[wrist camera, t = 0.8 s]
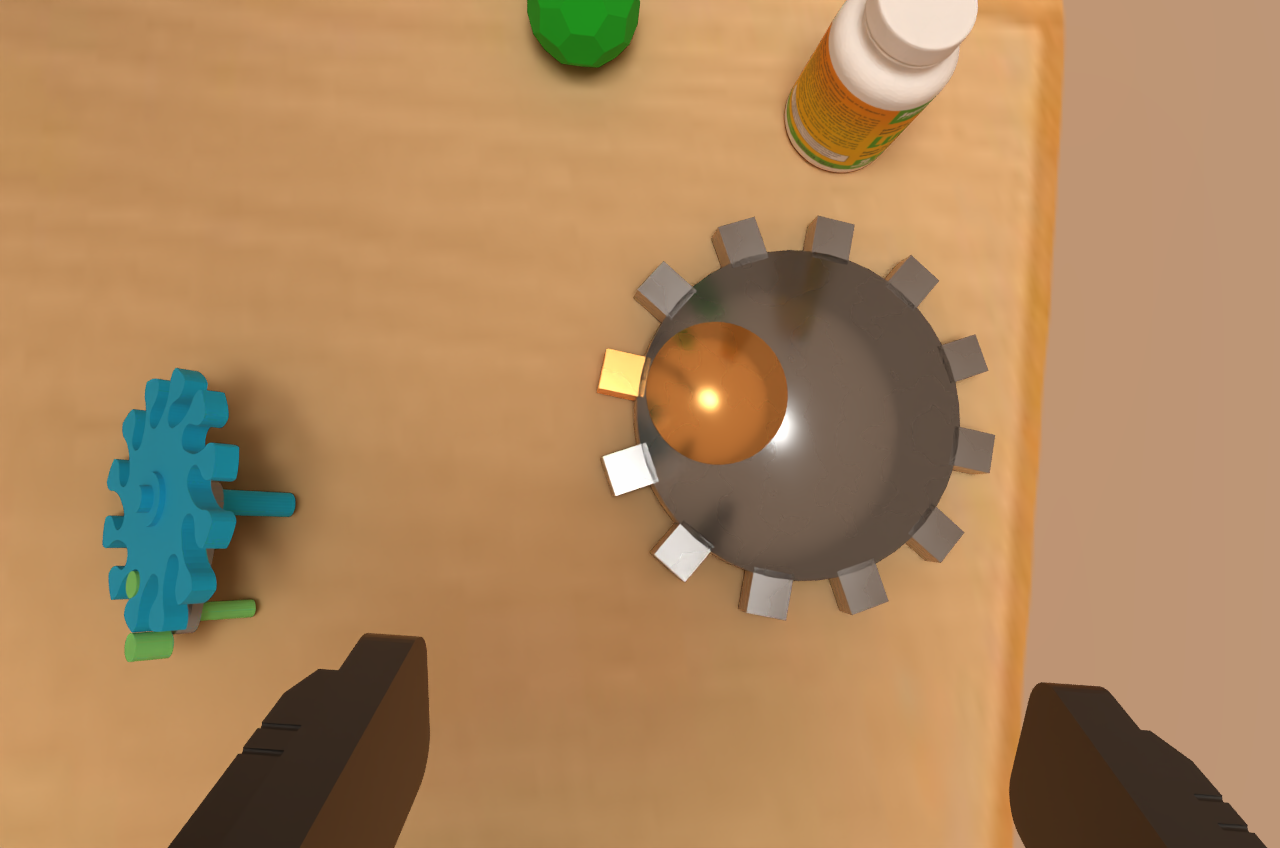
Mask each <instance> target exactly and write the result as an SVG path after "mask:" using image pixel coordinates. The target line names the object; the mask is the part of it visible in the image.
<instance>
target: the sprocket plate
mask: <svg viewBox="0 0 1280 848" xmlns="http://www.w3.org/2000/svg"><path fill="white" fill-rule="evenodd" d="M853 231H854V224H850V223H846V222H842V221H837V220H833V219H829V218H825V217H821V216H817V217H816V218H815V219H814V220H813V221H812V222H811V224H810V225H809V226H808V227H807V232H806V237H805V243H804V248H803V251H793V250H787V251H776V252H767V251H766V248H765V246H764V243H763V240H762V237H761V234H760V231H759V228H758V226H757V223H756V220H755V217H752V218H749V219H745V220H742V221H738V222H735V223H731V224H728V225H725V226H721V227H718V228H717V230H716V232H715V233H714V235H713V236H712V238H711V239H712V242H713V244H714V247H715V250H716V253H717V256H718V259H719V262H720V265H721V269H719V270H717V271H715V272H713V273H711V274H710V275H708V276H707V277H706V278H704V279H703V280H702V281H700V282H699V283H697V284H696V285H695V286H693V287H692V286H691V285H690V284H688V283H687V282H686V281H685V280H684V279H683V278H682V277H681V276H680V275H679V274H677V273H676V272H675V271H674V270H673V269H672V268H671V267H670V266H669V265H667V264H666V263H665V262H664V261H663V262H662V263H661V264H660V266H659V267H658V268H657V269H656V270H655V271H654V272H653V273H652V274H651V275H650V276H649V277H648V279H647V280H646V281H645V282H644V283H643V284H642V285H641V286H640V287H639V288H638V289H637V292H636V294H635V296H634V299H635V300H636V301H637V302H638V303H640V304H641V305H642V306H643V307H644V308H645V309H646V310H647V311H648V312H650V313H651V314H652V315H653V316H654V317H655V318H656V319H657V320H658V321H660V322H661V323H662V324H661V325H660V327H659V329H658V330H657V332H656V334H655V335H654V337H653V339H652V340H651V342H650V344H649V347H648V349H647V351H646V354H645V356H644V357H643V356H639V355H634V354H630V353H625V352H621V351H616V350H612V349H607V350H606V352H605V355H604V360H603V365H602V369H601V374H600V379H599V384H598V388H597V393H600V394H605V395H610V396H614V397H619V398H623V399H628V400H633V401H634V430H635V438H636V445H637V446H633V447H630V448H627V449H624V450H621V451H618V452H615V453H612V454H609V455H606V456H603V457H602V458H601V462H602V465H603V468H604V471H605V474H606V477H607V480H608V483H609V486H610V489H611V493H612V496H617V495H620V494H623V493H626V492H629V491H632V490H635V489H638V488H641V487H644V486H647V485H650V487H651V488H652V490H653V492H654V494H655V495H656V497H657V499H658V501H659V503H660V504H661V506H662V507H663V508H664V510H665V511H666V512H667V514H668V515H669V516H670V518H671V519H672V520H673V522H674V525H673V526H672V527H671V528H670V529H669V530H668V532H667V533H666V534H665V535H664V536H663V537H662V539H661V540H660V541H659V542H658V543H657V544H656V546H655V547H654V548H653V549H652V550H651V551H650V553H651V554H652V555H653V556H654V557H655V558H656V559H657V560H658V561H660V562H661V563H662V564H663V565H664V566H665V567H666V568H667V569H669V570H670V571H671V572H672V573H673V574H674V575H675V576H676V577H678V578H679V579H680V580H682V581H684V582H685V581H686V580H687V579H688V578H689V577H690V575H691V574H692V573H693V572H694V571H695V570H696V568H697V567H698V566H699V565H700V564H701V562H702V561H703V560H704V559H705V558H706V557H707V555H708V554H709V553H711V554H713V555H714V556H716V557H718V558H719V559H721V560H723V561H725V562H727V563H729V564H732V565H734V566H737V567H739V568H741V569H744V570H745V573H744V579H743V584H742V590H741V595H740V601H739V607H738V609H740V610H742V611H744V612H746V613H750V614H756V615H761V616H766V617H771V618H776V619H781V620H786V617H787V611H788V606H789V600H790V594H791V588H792V582H793V580H794V581H807V580H822V579H829V581H830V584H831V587H832V590H833V593H834V595H835V598H836V601H837V604H838V607H839V610H840V611H842V612H845V613H848V614H851V615H853V614H856V613H859V612H861V611H864V610H867V609H869V608H872V607H875V606H877V605H880V604H883V603H885V602H888V598H887V595H886V592H885V590H884V587H883V584H882V581H881V578H880V575H879V572H878V569H877V567H876V564H875V563H877V562H879V561H881V560H882V559H884V558H885V557H887V556H889V555H890V554H892V553H893V552H895V551H896V550H897V549H898V548H900V547H901V546H902V545H903V544H904V543H906V544H907V545H908V546H910V547H911V548H912V549H913V550H914V551H915V552H916V553H917V554H918V555H919V556H921V557H922V558H923V559H924V560H925V561H932V562H939V563H941V562H942V561H943V559H944V558H945V557H946V555H947V554H948V553H949V552H950V550H951V549H952V548H953V546H954V545H955V544H956V543H957V541H958V540H959V539H960V538H961V536H962V535H963V534H964V532H963V531H962V530H961V529H960V528H959V527H958V526H957V525H956V524H954V523H953V522H952V521H951V520H950V519H949V518H948V517H947V516H946V515H944V514H943V513H942V512H941V511H940V510H939V509H938V508H937V507H936V506H937V504H938V502H939V500H940V498H941V496H942V494H943V493H944V491H945V489H946V487H947V484H948V481H949V478H950V475H951V473H952V470H954V471H959V472H963V473H968V474H985V473H990V467H991V460H992V453H993V446H994V439H995V435H993V434H988V433H984V432H979V431H975V430H970V429H966V428H961V427H960V418H959V402H958V395H957V389H956V383H955V382H956V381H959V380H962V379H965V378H968V377H971V376H974V375H977V374H980V373H983V372H986V371H988V368H987V365H986V363H985V360H984V357H983V354H982V352H981V349H980V346H979V343H978V341H977V338H976V335H972V336H969V337H966V338H963V339H960V340H957V341H954V342H950V343H947V344H944V345H942V344H941V343H940V341H939V339H938V337H937V336H936V334H935V332H934V331H933V329H932V327H931V325H930V324H929V323H928V321H927V320H926V319H925V318H924V316H923V315H922V314H921V312H920V311H919V310H918V308H917V306H918V305H919V304H920V303H921V302H922V301H923V299H924V298H925V297H926V296H927V295H928V293H929V292H930V291H931V290H932V289H933V287H934V286H935V285H936V284H937V283H938V282H939V280H938V279H937V278H936V277H935V276H934V275H932V274H931V273H930V272H929V271H928V270H927V269H926V268H925V267H924V266H923V265H921V264H920V263H919V262H918V261H917V260H916V259H915V258H914V257H913V256H912V255H910V256H909V257H907V258H906V259H904V260H903V261H901V262H900V263H898V264H897V265H896V266H895V267H894V269H893V270H892V271H891V272H890V273H889V274H888V276H887V277H886V278H885V279H884V278H882V277H880V276H879V275H877V274H875V273H874V272H872V271H871V270H869V269H867V268H865V267H862V266H860V265H858V264H856V263H854V262H851V261H849V254H850V248H851V243H852V237H853Z"/></svg>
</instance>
